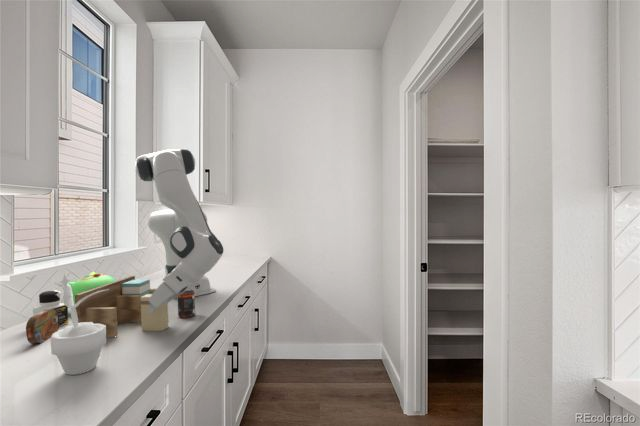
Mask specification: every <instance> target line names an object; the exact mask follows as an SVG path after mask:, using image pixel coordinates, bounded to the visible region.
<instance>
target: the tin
mask: <svg viewBox="0 0 640 426" xmlns="http://www.w3.org/2000/svg"><path fill="white" fill-rule="evenodd" d="M59 323H60V318H59V314H58V311H57V310H56V309H55V308H52V309H47V310H43V311H42V312H40V313H38V314H36V315H34V316H33V315H32V316H30V317H29V319H28V320H27V322H26V326H25V331H26V332H25V333H26V338H27V341H28V343H29V344H33V345H34V344H43V343H45V342H46V341H47V340H48V339H51V336H52V334H53V333H55V332H57V331H59V327H60V326H59Z"/></svg>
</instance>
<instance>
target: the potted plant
mask: <svg viewBox="0 0 640 426" xmlns="http://www.w3.org/2000/svg"><path fill="white" fill-rule="evenodd" d="M68 282H71V280H69V279H67V277H66V274H65V273H64V274H63V278H62V280H60V281H58V282H55V283H54V284H55V285H58V286H59V285H60V286H59V287H61V286H62V287H61V288H62V290H63V296H62V293H61V294H60V293H59V290H57V291H58V293H57V294H56V295H57V296H58V297H60V295H61V296H62V299H63V303H64V304H65V305H66V306H67V307H68V308H70V311H69V313H70V317H71V320H72V325H67V326H66V327H64V328H62V329H58V331H57V332H55V333H53V334H52V336H51V337H50V349H51V350H50V351H51V352H50V353H51V354H52V355H54V356H56V358H57V360H58V362H59V363H60V365H61V369H62V370H63V372H64V373H65V374H67V375H71V376H76V375H82V373H83V374H86V373H88V372H90V371H92V370H93V369H95V368H96V367H97V364H98V361H99V358H100V355H101V351H102V347H103V346H105V345H106V344H107V338H106V325H103V324H93V322H81V323H78V317H77V313H76V307H77V306H78V305H79V304H80V303H81V302H82V301H84V300H85V299H86V298H88V297H89V296H92V295H94V294H96V293H99V292H103V291H106V290H109V289H106V290H101V291H97V292H94V293H92V294H90V295H88V296H86V297H84V298H82V299H81V300H79V301H78V302H77V303H76V304H75V305H74V301H73V293H72V288H71V285H69V284H68ZM85 372H86V373H85Z"/></svg>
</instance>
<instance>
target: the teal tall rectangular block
mask: <svg viewBox="0 0 640 426" xmlns="http://www.w3.org/2000/svg"><path fill="white" fill-rule="evenodd" d="M150 281H151V280H150V278H149V279H135V280H131V281H128V282H125V283H123V284H122V294H123V295H143V296H144V295H147V294H150V289H151V282H150Z"/></svg>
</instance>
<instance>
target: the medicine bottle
mask: <svg viewBox="0 0 640 426" xmlns="http://www.w3.org/2000/svg"><path fill="white" fill-rule="evenodd" d="M58 291H59V290H54V289H52V290H47V291H43V292H41V293H39V295H38V298H39V299H38V300H39V301H38V302H39V305H38V306H34V307H33V308H32V312H33V313H32V314H33V315H32V316H34V315H36V314H38V313H40V312H42V311H43V310H47V309H52V308H55V309H56V310H57V311H58V314H59V318H60V323H59V327H62V326H65V325H68V324H69V309H68V307H67V306H66V305H65V304H64V302H63V303H61V302H62V292H61V291H59V293H60V294H61V295H60V297H58V296H57V295H56V294H57V293H58Z"/></svg>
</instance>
